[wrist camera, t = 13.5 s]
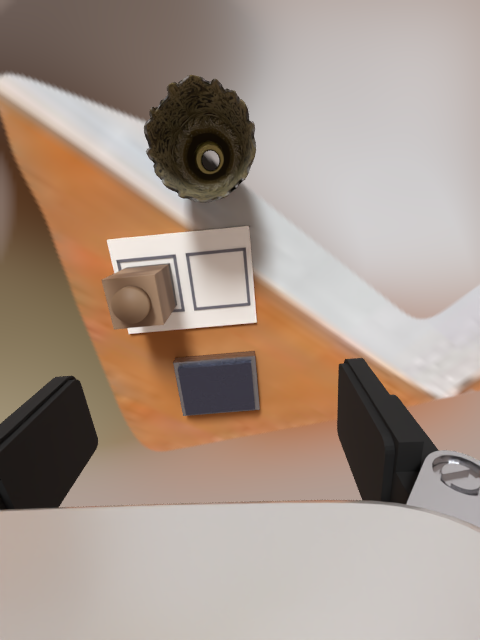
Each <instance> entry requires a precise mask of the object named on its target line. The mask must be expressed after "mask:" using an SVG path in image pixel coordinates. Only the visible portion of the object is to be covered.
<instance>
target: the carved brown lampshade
mask: <svg viewBox="0 0 480 640" xmlns="http://www.w3.org/2000/svg"><path fill="white" fill-rule="evenodd" d="M167 91H168V96H167V97H166V98H165V99H163V100H161V102H160V105H159V107H156V108H154V107H152V108H151V109H150V117H151V118H150V119H149V120H148V121H147V122H146V123H145V125H144V133H145V137H146V139H147V141H148V144H149V149H147V151H146V153H147V155H148V157H149V159H150V160H152V161H153V162H154V163H155V164H154V169H155V173H156V175H157V176H158V177H159V178H160V179H161V180H162V182H163V184H164V185H165V186H166V187H167V188H168V189H170V190H172V191H175V192H177V193H178V196H179V197H181V198H187V199H191V200H193V201H196V202H210V201H214V200H217V199H222V198H224V197H226V196H228V195H229V193H231V192H232V191H233V190H234V189H236V188H237V187H238V185H239V184H240V183H241V182H242V181H243V180H245V178H246V177H247V175H248V173H249V170H250V167H251V165H252V162H253V160H254V157H255V152H256V142H255V139H254V131H255V125H254V122H253V121H249V113H248V109H247V106H246V104H245V102H244V101H243V100H242V99H239V97H238V96H237V94H236V92H235V91H233V90H229V89H226V90H224V88H223V87H222V84H221V83H220V82H219V81H218V80H217V79H213V80H212V81H211V82H209V81H206V80H204V79H203V78H202V77H199V76H194V75H189V76H187V77H186V78H184V79H183V80H181V81H180V82H179V83H178V84H177V83H176V82H173V83H171V84H169V85H168V87H167ZM209 150H212V151H215V152H216V153H217V154H218V156H219V160H220V162H219V165H218V167H217V168H216V169H215V170H207V169H206V168H204V166H203V164H202V156H203V154H204V153H205V152H206V151H209Z"/></svg>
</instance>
